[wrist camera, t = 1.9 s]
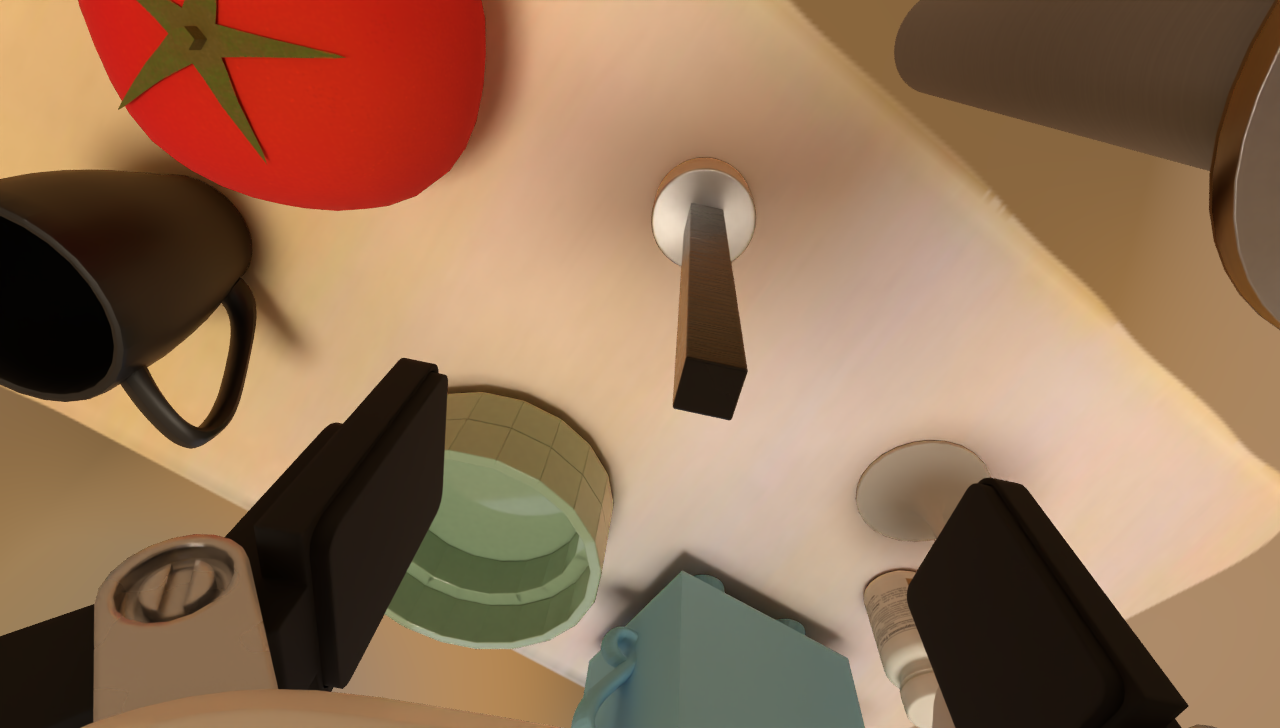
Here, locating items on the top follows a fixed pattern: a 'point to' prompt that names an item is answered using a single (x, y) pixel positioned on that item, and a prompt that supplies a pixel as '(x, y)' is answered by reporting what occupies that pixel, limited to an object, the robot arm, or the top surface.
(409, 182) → the tomato
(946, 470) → the wineglass
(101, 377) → the mug
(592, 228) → the top surface
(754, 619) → the teapot
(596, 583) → the bowl
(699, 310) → the square post on disc
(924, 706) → the pill bottle
